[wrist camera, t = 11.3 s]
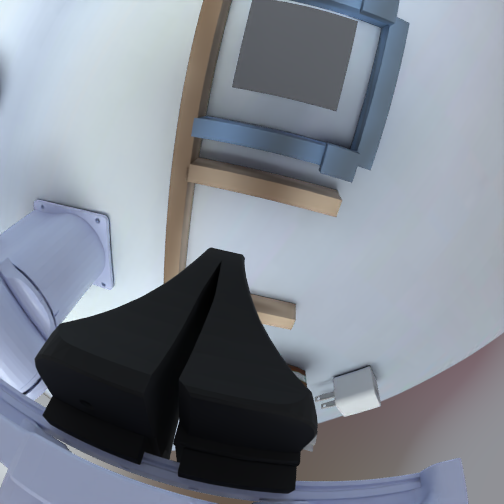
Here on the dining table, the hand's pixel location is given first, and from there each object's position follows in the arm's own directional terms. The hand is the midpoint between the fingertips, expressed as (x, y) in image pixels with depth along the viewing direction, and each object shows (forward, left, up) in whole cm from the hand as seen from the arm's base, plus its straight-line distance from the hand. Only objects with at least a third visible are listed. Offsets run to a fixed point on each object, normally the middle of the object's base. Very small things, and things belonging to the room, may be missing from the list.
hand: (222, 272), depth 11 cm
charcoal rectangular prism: (+1, +9, -10) cm, 13 cm away
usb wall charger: (+15, -19, -11) cm, 27 cm away
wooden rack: (+1, +2, -10) cm, 11 cm away
